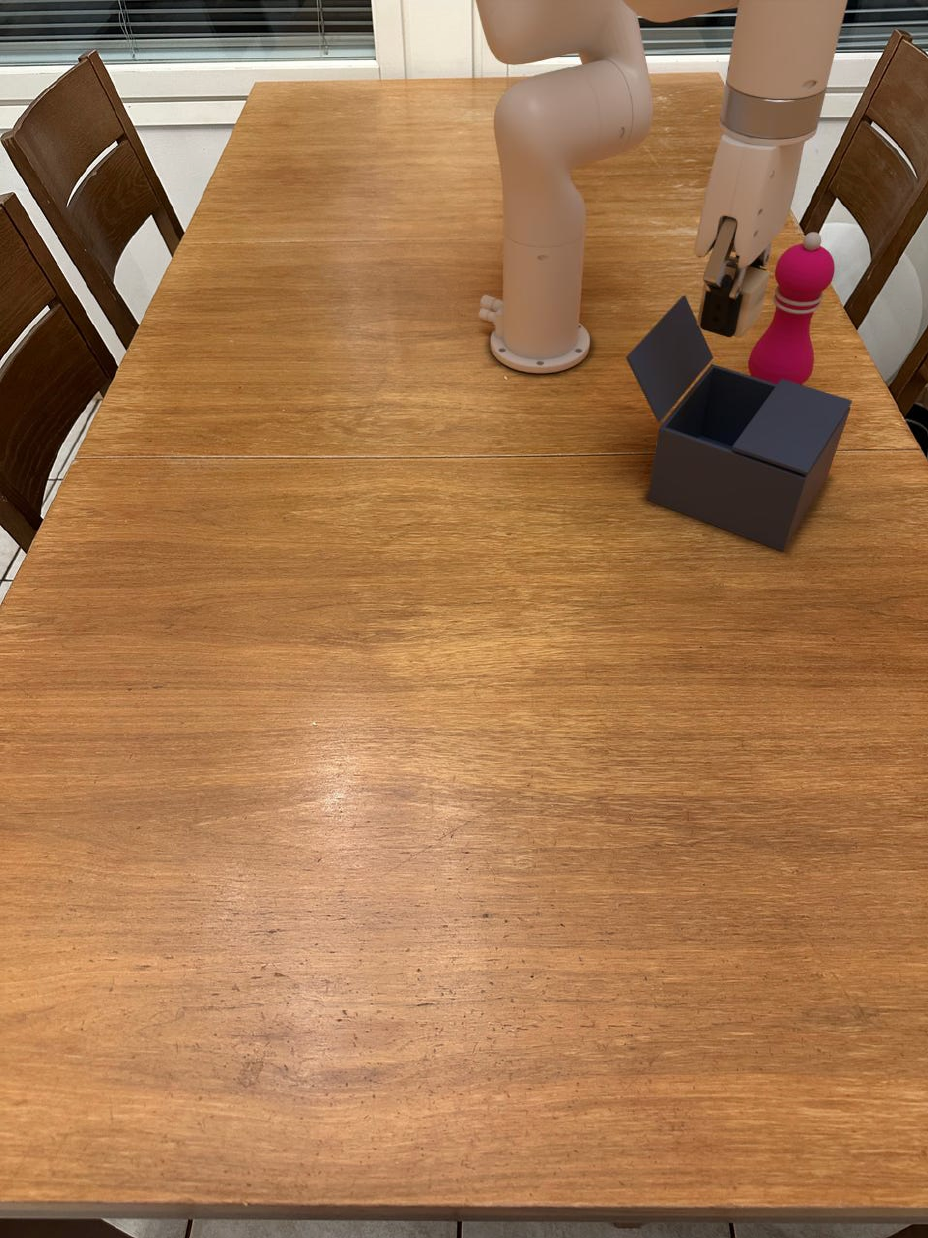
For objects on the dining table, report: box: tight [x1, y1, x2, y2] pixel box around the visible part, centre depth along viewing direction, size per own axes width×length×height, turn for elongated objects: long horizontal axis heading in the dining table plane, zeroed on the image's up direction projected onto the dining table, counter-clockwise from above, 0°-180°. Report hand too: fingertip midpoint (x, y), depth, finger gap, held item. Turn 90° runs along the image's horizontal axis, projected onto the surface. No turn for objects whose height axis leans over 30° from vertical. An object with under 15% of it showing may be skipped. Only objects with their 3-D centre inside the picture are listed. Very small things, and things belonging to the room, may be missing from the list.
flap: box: [625, 295, 714, 423], centre depth 95 cm, size 7×13×1 cm
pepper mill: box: [747, 231, 836, 385], centre depth 105 cm, size 7×7×20 cm
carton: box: [647, 363, 853, 552], centre depth 98 cm, size 15×13×10 cm
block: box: [696, 266, 771, 339], centre depth 86 cm, size 4×4×4 cm
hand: (728, 316), depth 87 cm, fingers closed on block, 4 cm apart
